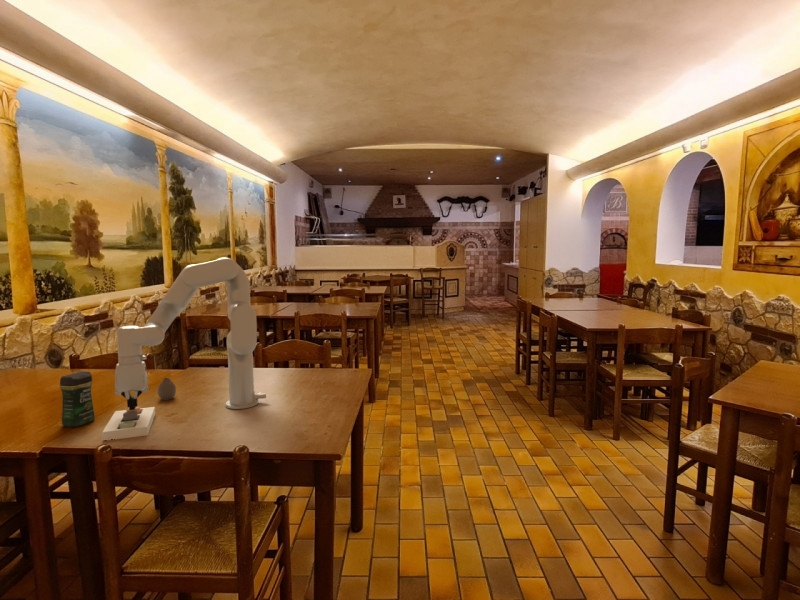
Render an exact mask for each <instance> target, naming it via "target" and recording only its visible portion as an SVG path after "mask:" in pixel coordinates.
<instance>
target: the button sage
mask: <svg viewBox="0 0 800 600" xmlns="http://www.w3.org/2000/svg"><path fill="white" fill-rule="evenodd" d="M122 422H123V423H121V424H120V426H119V429H122V428H130V427H135V426H136V424H135V422H133V421H128V422H124V421H122Z"/></svg>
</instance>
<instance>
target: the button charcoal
mask: <svg viewBox="0 0 800 600" xmlns="http://www.w3.org/2000/svg"><path fill="white" fill-rule="evenodd" d="M138 419H139V417H138V413H137V411H129V412H125V413H123V421H122V422H126V421H134V420H138Z"/></svg>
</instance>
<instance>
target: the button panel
mask: <svg viewBox="0 0 800 600" xmlns="http://www.w3.org/2000/svg"><path fill="white" fill-rule="evenodd" d="M140 410H141V414H138V420H134V421H133V422H135V427H130V428H122V429H120V424H121V423H123V422H124V421H123V413H125V412H127V409H123V410H115V411H114V413H112V414H113V415H112V416H111V417H110V419H109V421H108V422H107V424H106V425H105V427H104V429H103V431H102V434H101V435H102V441H103V440H107V441H113V440H114V439H115V440H120V439H123V440H124V439H128V438H137V437H143V436H144V437H146V436H149V433H150V429H151V427H152V425H153V422H154V419H155V416H156V407H155V406H151V407H142V408H141V407H140ZM126 422H128V421H126ZM111 439H113V440H111Z"/></svg>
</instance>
